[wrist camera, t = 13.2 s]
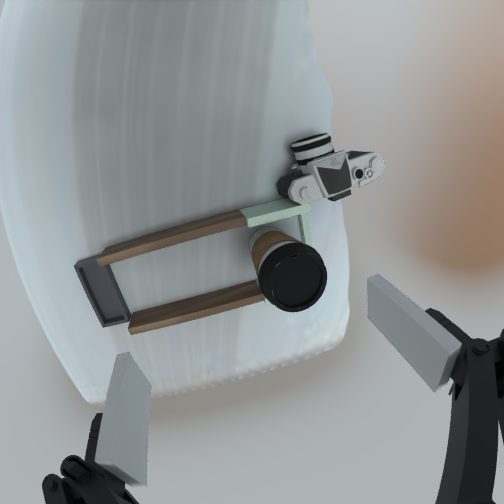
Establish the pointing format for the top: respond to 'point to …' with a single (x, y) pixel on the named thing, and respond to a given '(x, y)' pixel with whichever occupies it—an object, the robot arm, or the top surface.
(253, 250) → the coffee cup
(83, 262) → the tray
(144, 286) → the top surface
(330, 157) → the camera
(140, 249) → the channel
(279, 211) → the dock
